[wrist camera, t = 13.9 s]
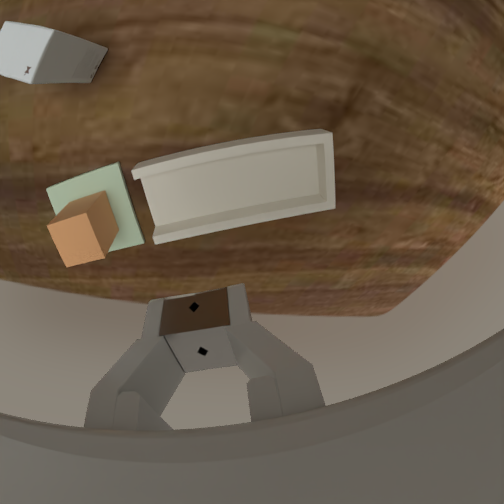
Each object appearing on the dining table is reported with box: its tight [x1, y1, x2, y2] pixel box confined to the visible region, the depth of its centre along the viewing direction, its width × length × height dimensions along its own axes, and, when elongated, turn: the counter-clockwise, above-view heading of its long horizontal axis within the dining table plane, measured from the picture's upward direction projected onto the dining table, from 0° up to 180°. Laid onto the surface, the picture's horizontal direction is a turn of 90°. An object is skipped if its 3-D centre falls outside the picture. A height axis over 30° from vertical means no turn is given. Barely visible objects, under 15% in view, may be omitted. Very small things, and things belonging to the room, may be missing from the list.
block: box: [47, 190, 119, 267], centre depth 27 cm, size 5×5×6 cm
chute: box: [131, 129, 335, 245], centre depth 29 cm, size 20×8×3 cm, turn 98°
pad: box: [46, 162, 145, 252], centre depth 29 cm, size 10×10×1 cm
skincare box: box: [0, 21, 108, 84], centre depth 15 cm, size 6×4×12 cm
